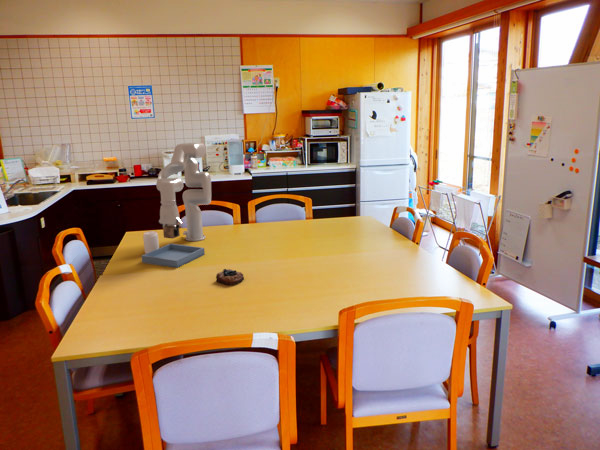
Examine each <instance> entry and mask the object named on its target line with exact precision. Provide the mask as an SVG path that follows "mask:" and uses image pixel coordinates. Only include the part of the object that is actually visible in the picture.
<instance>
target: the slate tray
mask: <svg viewBox="0 0 600 450" xmlns="http://www.w3.org/2000/svg"><path fill="white" fill-rule="evenodd" d="M205 255H206V253H205V247H200V246H192V245H185V244H176V243H168V244H166V245H163V246H162V247H159V249H156V250H154V251H151V252H149V253H147V254H146V253H145V254H142V255H141V257H140V258H141V263H142V264H143V263H144V264H149V265H155V266H156V265H157V266H163V267H167V266H168V268H174V267H175V269H178V267H179V268H181V267H183V266H184V264H185V265H187V264H189V263H191V262H193V261H195V260H197V259H199V258H201V257H203V256H205ZM182 265H183V266H182ZM180 266H181V267H180Z"/></svg>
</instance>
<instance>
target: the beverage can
mask: <svg viewBox="0 0 600 450" xmlns="http://www.w3.org/2000/svg"><path fill="white" fill-rule="evenodd" d="M142 238H143V247H144V253H145V254H147V253H149V252H151V251H154V250H156V249H159V248H160V243H159V242H160V241H159V234H158V232H157V231H155V230H154V231H153V230H151V231H145V232H144V233H143V235H142Z"/></svg>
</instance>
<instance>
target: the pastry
mask: <svg viewBox="0 0 600 450" xmlns="http://www.w3.org/2000/svg"><path fill="white" fill-rule="evenodd" d="M215 280H216V283H219V284H221V285H224V286H225V285H226V286H230V287H231V286H235V285H238V284H240V283H241V282H243V281H244V280H245V276H244V274H243V272H241V271H240V272H239V271H237V270H233V269H230V268H229V269H226V268H224V269H222V271H220V272H218V273H217V274H216V276H215Z"/></svg>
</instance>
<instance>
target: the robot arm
mask: <svg viewBox="0 0 600 450" xmlns="http://www.w3.org/2000/svg"><path fill="white" fill-rule="evenodd" d="M206 154H207V147H206V145H205V144H204V143H202V142H198V143H197V142H186V143H185V142H184V143H179V144H177V145H175V147H174V150H173V154H172V157H171V160H170V162H169V163H168V164H167V165H166V166H164V167H163V168H162V169H161V170H160V171H159V173H158V177H157V179H156V183H155V184H156V189H157V191H159V193H160V204H161V205H160V209H159V220H158V223H159V224H160V225H161V227H162V228H163V227H164V226H167V225H173V226H174V229H175V230H174V237H176V236H178V237H180V236H179V233H180V228H181V227H182V225H183V222H182V220H181V219H180V213H179V209H178V205H177V200H176V193H178V192H181V191H182V190H183V188H184V183H185V186H186V187H188V188H193V189H186V190H185V191H183V193H182V201H183V205H184V210H185V221H186V222H185V223H186V230H184V231H183V232H182V235H183V236H185V238H184V239H185V241H187V242H198V241H203V240H204V239H206V235H205V234H204V231H203V219H202V211H201V209H200V207H199V206H200V205H201V206H202V205H203V206H204V205H205V206H206V205H207V206H208V205H210V204H211V202H212V178H211V175H210V173H209V172H208V171H200V170H199V163H198V160H197V159H200V158H204V157H205V156H206ZM181 172H184V181H183V180H182V179H181V178H179V177H174V178H173V177H171V176H172V175H175V174H178V173H181ZM194 188H195V189H194ZM196 188H197V189H196ZM199 188H202V189H199ZM178 229H179V230H178ZM176 238H177V237H176Z"/></svg>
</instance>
